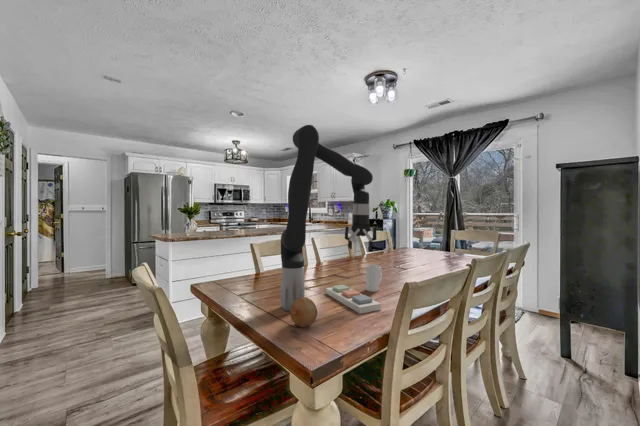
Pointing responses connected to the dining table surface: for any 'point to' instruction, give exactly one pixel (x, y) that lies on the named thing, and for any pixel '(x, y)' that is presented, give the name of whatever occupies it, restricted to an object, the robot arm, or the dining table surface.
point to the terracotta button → (350, 293)
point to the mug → (373, 277)
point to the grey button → (362, 299)
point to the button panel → (353, 305)
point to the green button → (340, 288)
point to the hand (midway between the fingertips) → (360, 249)
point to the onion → (303, 312)
